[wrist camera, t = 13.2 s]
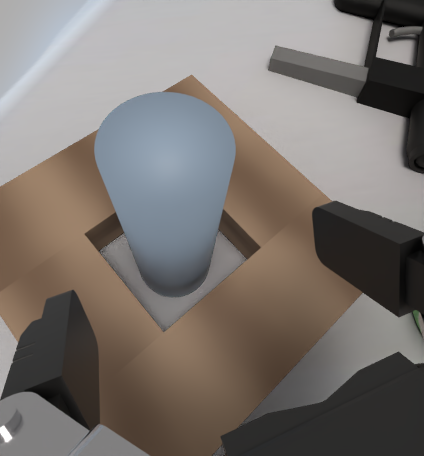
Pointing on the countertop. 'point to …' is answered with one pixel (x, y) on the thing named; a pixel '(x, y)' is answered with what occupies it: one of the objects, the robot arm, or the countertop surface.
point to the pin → (167, 184)
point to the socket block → (198, 315)
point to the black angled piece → (372, 69)
